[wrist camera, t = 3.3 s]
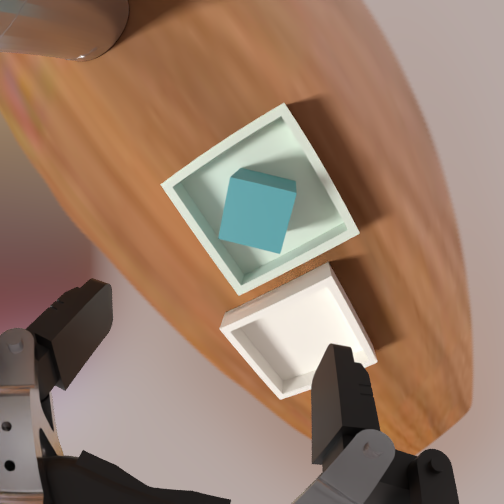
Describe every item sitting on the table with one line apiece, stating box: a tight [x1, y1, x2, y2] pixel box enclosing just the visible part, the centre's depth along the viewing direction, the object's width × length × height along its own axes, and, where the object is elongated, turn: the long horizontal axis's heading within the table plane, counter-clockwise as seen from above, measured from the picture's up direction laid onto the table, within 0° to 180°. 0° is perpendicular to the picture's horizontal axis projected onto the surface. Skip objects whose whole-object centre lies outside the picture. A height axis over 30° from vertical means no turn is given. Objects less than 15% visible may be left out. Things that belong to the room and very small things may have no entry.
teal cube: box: [218, 168, 297, 254], centre depth 26 cm, size 5×5×5 cm
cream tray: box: [220, 262, 378, 400], centre depth 33 cm, size 13×13×3 cm
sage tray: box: [161, 103, 360, 295], centre depth 27 cm, size 13×13×3 cm
